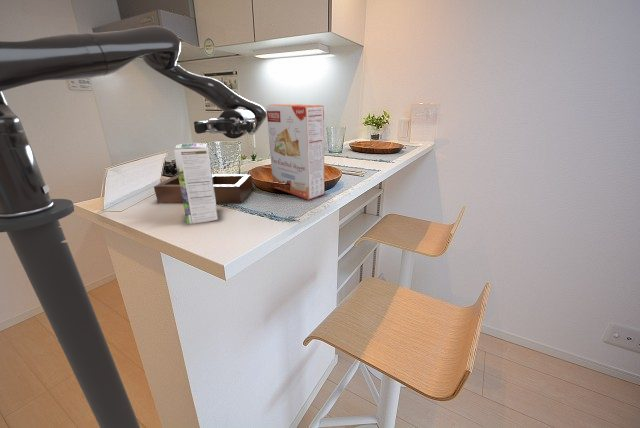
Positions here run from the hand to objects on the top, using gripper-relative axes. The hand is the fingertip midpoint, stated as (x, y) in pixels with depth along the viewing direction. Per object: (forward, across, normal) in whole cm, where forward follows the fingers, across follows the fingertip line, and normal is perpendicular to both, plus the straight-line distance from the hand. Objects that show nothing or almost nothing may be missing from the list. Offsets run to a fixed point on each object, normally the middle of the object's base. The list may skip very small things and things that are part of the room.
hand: (215, 128), depth 66 cm
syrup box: (+15, +1, +16) cm, 22 cm away
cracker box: (-2, +18, +16) cm, 24 cm away
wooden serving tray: (+1, -4, +16) cm, 16 cm away
